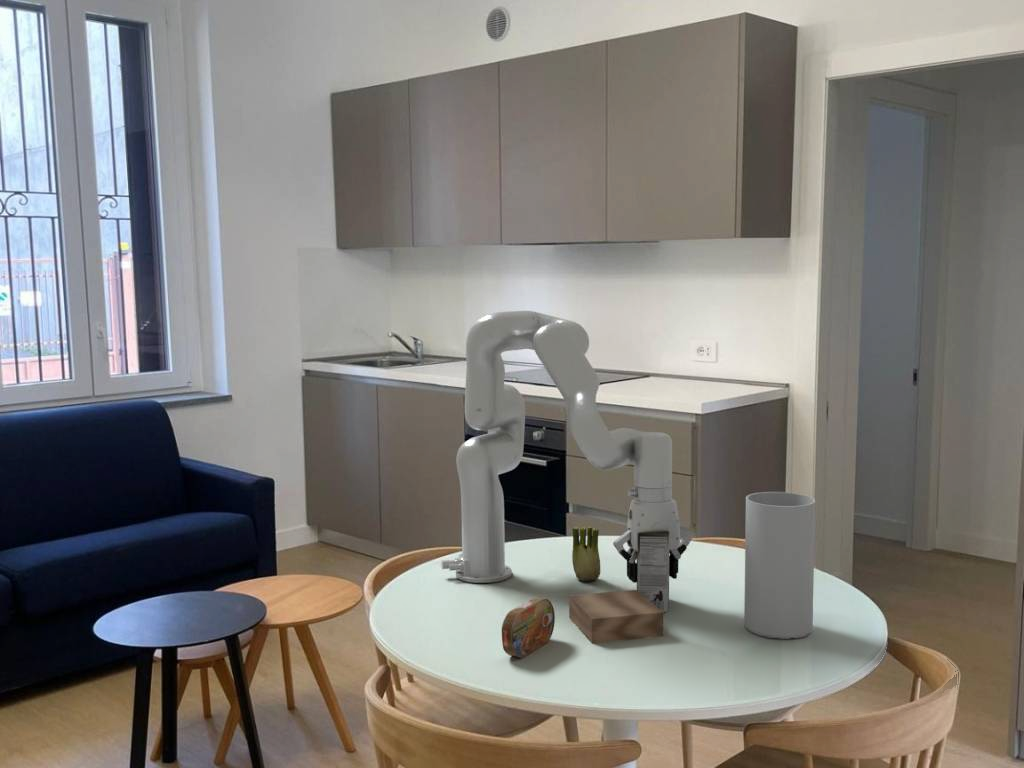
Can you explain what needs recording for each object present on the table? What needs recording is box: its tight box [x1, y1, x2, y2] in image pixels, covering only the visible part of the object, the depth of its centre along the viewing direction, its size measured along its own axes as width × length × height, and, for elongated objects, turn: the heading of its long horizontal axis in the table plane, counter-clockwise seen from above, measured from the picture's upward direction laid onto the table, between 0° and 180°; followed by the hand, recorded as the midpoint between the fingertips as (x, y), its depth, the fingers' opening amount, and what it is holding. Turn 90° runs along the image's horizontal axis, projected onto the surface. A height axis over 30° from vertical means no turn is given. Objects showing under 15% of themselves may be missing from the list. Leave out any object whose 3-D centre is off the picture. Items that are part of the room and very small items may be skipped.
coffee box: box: [636, 531, 670, 613], centre depth 206 cm, size 9×6×16 cm
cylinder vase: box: [743, 491, 816, 640], centre depth 191 cm, size 12×12×25 cm
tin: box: [501, 597, 556, 659], centre depth 183 cm, size 15×3×8 cm, turn 148°
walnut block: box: [568, 589, 665, 644], centre depth 194 cm, size 14×14×5 cm
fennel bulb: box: [571, 526, 601, 583], centre depth 224 cm, size 6×5×12 cm
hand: (652, 578), depth 206 cm, fingers closed on coffee box, 8 cm apart
